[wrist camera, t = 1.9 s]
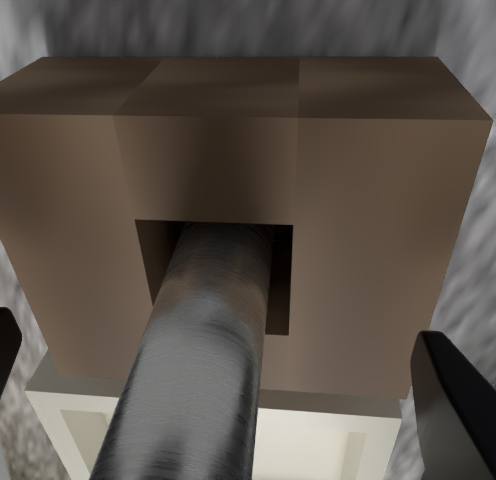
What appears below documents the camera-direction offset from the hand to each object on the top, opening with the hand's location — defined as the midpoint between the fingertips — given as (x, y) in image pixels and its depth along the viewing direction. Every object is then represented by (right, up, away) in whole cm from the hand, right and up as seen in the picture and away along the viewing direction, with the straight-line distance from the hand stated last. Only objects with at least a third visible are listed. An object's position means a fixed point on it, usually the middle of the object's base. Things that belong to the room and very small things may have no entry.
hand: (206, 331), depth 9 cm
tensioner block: (+1, +3, +4) cm, 6 cm away
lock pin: (+1, +3, +4) cm, 6 cm away
